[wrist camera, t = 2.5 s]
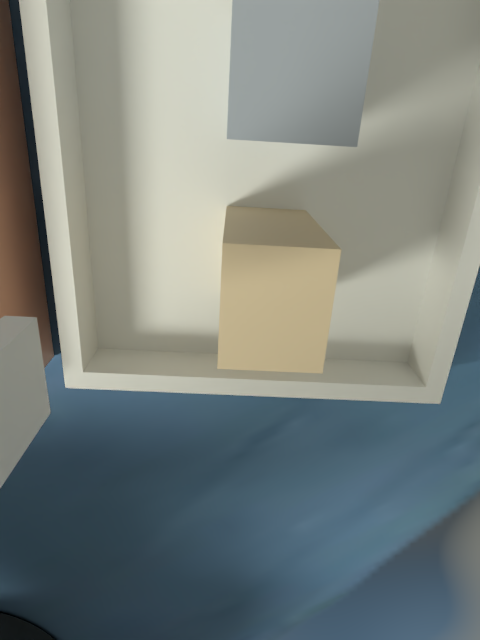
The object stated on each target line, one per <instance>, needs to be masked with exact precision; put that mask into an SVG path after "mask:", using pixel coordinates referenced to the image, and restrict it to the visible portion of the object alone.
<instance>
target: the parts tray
mask: <svg viewBox="0 0 480 640" xmlns="http://www.w3.org/2000/svg"><path fill="white" fill-rule="evenodd" d="M19 6H20V14H21V22H22V31H23V39H24V47H25V56H26V64H27V72H28V81H29V89H30V97H31V106H32V114H33V122H34V131H35V139H36V147H37V156H38V164H39V172H40V181H41V189H42V197H43V206H44V214H45V222H46V231H47V239H48V247H49V256H50V264H51V272H52V280H53V289H54V297H55V305H56V314H57V322H58V330H59V339H60V347H61V355H62V364H63V372H64V380H65V388H78V389H102V390H125V391H149V392H172V393H196V394H220V395H243V396H267V397H290V398H314V399H337V400H361V401H384V402H408V403H432V404H440V403H441V399H442V396H443V392H444V389H445V385H446V382H447V378H448V375H449V371H450V368H451V364H452V361H453V357H454V354H455V350H456V347H457V343H458V340H459V336H460V333H461V329H462V326H463V322H464V319H465V315H466V312H467V308H468V305H469V301H470V298H471V294H472V291H473V287H474V283H475V280H476V276H477V273H478V269H479V266H480V0H379V7H378V13H377V20H376V27H375V33H374V40H373V46H372V53H371V59H370V66H369V72H368V79H367V86H366V92H365V99H364V105H363V112H362V118H361V125H360V131H359V138H358V145H357V147H346V146H330V145H314V144H297V143H281V142H265V141H249V140H232V139H227V120H228V96H229V72H230V48H231V23H232V0H19ZM227 206H240V207H258V208H275V209H293V210H306V211H307V212H308V213H309V214H310V215H311V217H312V218H313V219H314V220H315V221H316V222H317V223H318V224H319V225H320V226H321V228H322V229H323V230H324V231H325V232H326V233H327V234H328V235H329V236H330V237H331V239H332V240H333V241H334V242H335V243H336V244H337V245H338V246H339V247H340V248H341V256H340V263H339V269H338V276H337V282H336V289H335V295H334V302H333V308H332V315H331V322H330V328H329V335H328V341H327V348H326V354H325V361H324V367H323V374H321V373H299V372H276V371H254V370H231V369H217V362H218V338H219V313H220V289H221V265H222V242H223V233H224V225H225V216H226V207H227Z"/></svg>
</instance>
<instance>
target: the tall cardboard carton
mask: <svg viewBox="0 0 480 640" xmlns="http://www.w3.org/2000/svg"><path fill="white" fill-rule="evenodd" d="M340 256H341V248H340V247H339V246H338V245H337V244H336V243H335V242H334V241H333V240H332V239H331V237H330V236H329V235H328V234H327V233H326V232H325V231H324V230H323V229H322V228H321V226H320V225H319V224H318V223H317V222H316V221H315V220H314V219H313V218H312V217H311V215H310V214H309V213H308V212H307V211H306V210H293V209H275V208H258V207H240V206H227V207H226V216H225V225H224V233H223V242H222V265H221V289H220V313H219V338H218V362H217V369H231V370H254V371H276V372H299V373H321V374H323V367H324V361H325V354H326V348H327V341H328V335H329V328H330V322H331V315H332V308H333V302H334V295H335V289H336V282H337V276H338V269H339V263H340Z"/></svg>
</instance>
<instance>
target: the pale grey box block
mask: <svg viewBox="0 0 480 640" xmlns="http://www.w3.org/2000/svg"><path fill="white" fill-rule="evenodd" d="M378 7H379V0H232V23H231V48H230V72H229V96H228V120H227V139H232V140H249V141H265V142H281V143H297V144H314V145H330V146H346V147H357V145H358V138H359V131H360V125H361V118H362V112H363V105H364V99H365V92H366V86H367V79H368V72H369V66H370V59H371V53H372V46H373V40H374V33H375V27H376V20H377V13H378Z"/></svg>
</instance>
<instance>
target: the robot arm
mask: <svg viewBox="0 0 480 640" xmlns="http://www.w3.org/2000/svg"><path fill="white" fill-rule="evenodd" d="M50 413H51V412H50V405H49V398H48V391H47V384H46V377H45V370H44V363H43V357H42V350H41V343H40V336H39V329H38V322H37V317H21V316H3V317H2V318H1V319H0V488H1V487H2V485H3V484H4V482H5V481H6V479H7V478H8V476H9V475H10V473H11V472H12V470H13V469H14V467H15V466H16V464H17V463H18V461H19V460H20V458H21V457H22V455H23V454H24V452H25V451H26V449H27V448H28V446H29V445H30V443H31V442H32V440H33V439H34V437H35V436H36V434H37V433H38V431H39V430H40V428H41V427H42V425H43V424H44V422H45V421H46V419H47V418H48V416H49V415H50ZM0 640H55V639H53V638H52V637H51V636H50V635H48V634H47V633H46V632H44V631H43V630H41V629H39V628H38V627H36V626H34V625H32V624H30V623H28V622H26V621H23V620H21V619H18V618H16V617H13V616H10V615H6V614H3V613H0Z"/></svg>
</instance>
